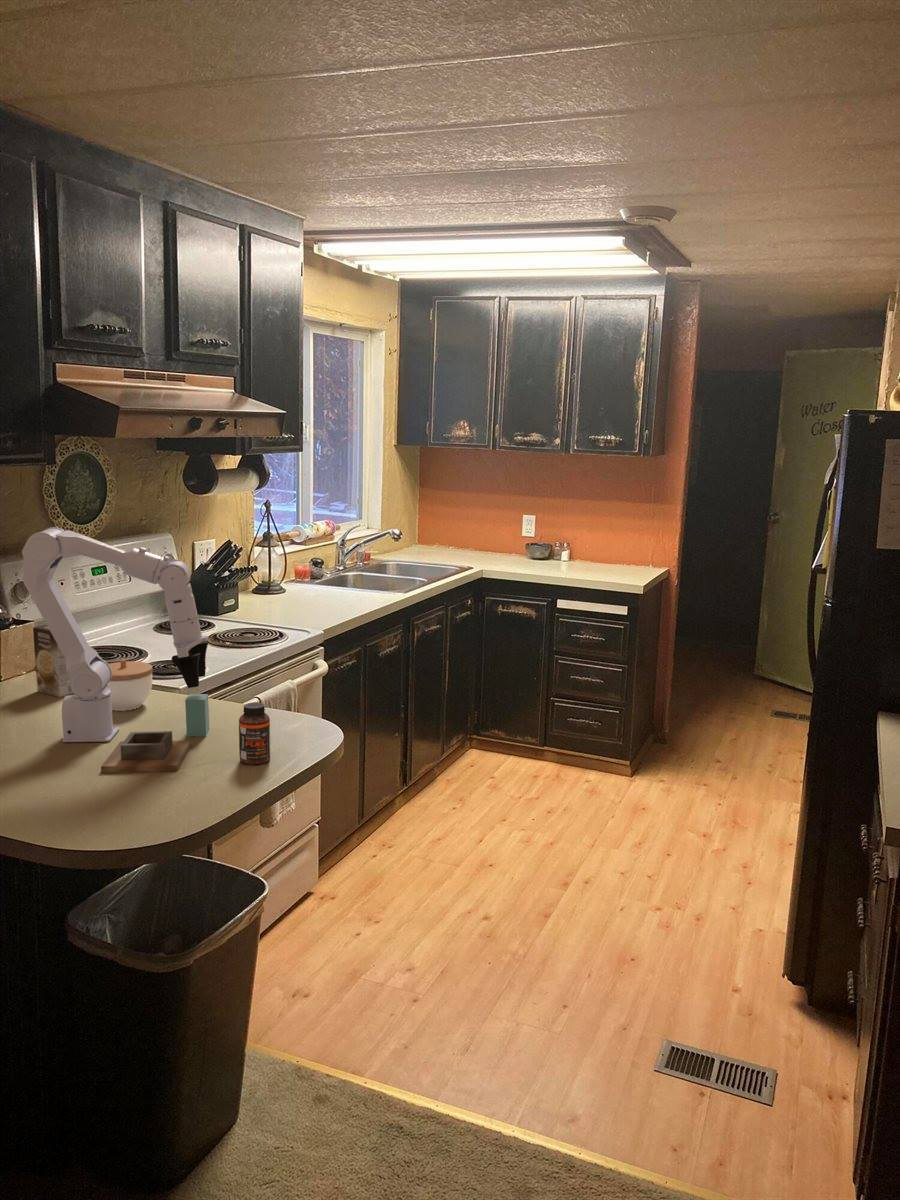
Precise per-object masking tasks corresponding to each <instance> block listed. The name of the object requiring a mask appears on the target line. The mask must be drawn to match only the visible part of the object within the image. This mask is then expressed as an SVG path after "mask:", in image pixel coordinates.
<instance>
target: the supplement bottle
mask: <svg viewBox="0 0 900 1200" xmlns="http://www.w3.org/2000/svg"><path fill="white" fill-rule="evenodd" d="M238 738H239V739H238V747H239V750H238V751H239V761H240V762H241V763H242V764H244V763H245V765H248V764H249V765H250V766H255V765H257V764H258V765H262V764H266V763H267V762H269V761H270V760H271V719H270V716H269V715H268V714H267V713H266V710H265V704H264V703H262V702H255V701H251V702H248V703H245V704H244V705H243V713H242V715H240V717H239V718H238ZM265 762H266V763H265ZM258 765H257V766H258Z"/></svg>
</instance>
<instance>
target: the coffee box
mask: <svg viewBox="0 0 900 1200" xmlns="http://www.w3.org/2000/svg"><path fill="white" fill-rule="evenodd" d="M32 632H33V633H32V634H33V643H34V644H33V647H34V661H35V662H34V664H35V674H36V675H35V676H36V678H35V679H36V689H37V692H40V693H44V694H48V695H51V696H53V697H58V698H62V697H66V696H70V695H74V693H73V691H72V690H71V687H70V677H69V674H68V673H67V670H66V659H65V657H64V655H63V653H62V651H61V649H60V648H59V646H58V644H57V642H56V640H55V639H54V637H53V635H52V633H51V631H50V630H49V628H48V626H47V624H46V623H45V624H43V625H38V626H37V625H36V626H33V627H32Z"/></svg>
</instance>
